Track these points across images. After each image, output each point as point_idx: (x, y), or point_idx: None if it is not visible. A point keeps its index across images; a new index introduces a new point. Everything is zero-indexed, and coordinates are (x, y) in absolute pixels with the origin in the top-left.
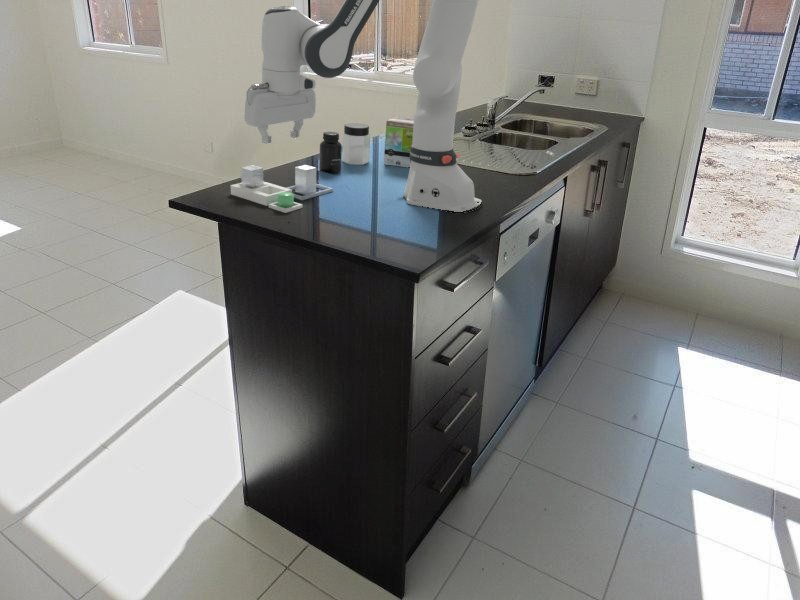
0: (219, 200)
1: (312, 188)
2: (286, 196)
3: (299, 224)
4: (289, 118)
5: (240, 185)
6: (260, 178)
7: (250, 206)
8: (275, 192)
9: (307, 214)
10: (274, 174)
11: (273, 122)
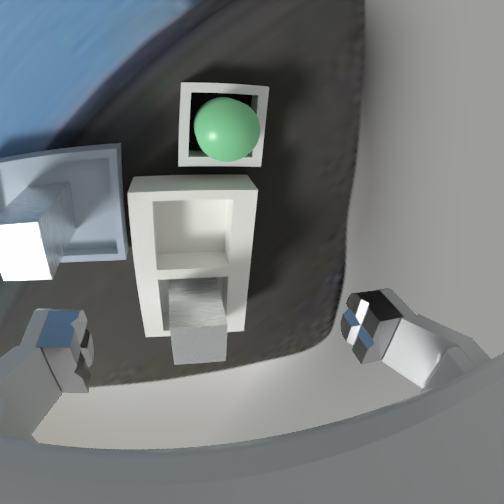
0: (265, 309)
1: (35, 191)
2: (243, 112)
3: (284, 17)
4: (224, 483)
5: None
6: (182, 302)
7: None
8: (155, 239)
9: (188, 56)
10: None
11: (471, 383)
